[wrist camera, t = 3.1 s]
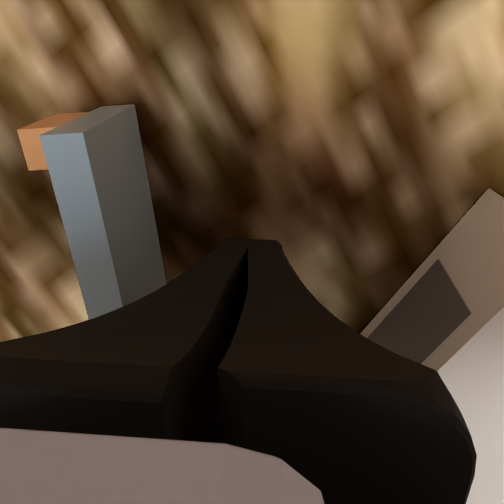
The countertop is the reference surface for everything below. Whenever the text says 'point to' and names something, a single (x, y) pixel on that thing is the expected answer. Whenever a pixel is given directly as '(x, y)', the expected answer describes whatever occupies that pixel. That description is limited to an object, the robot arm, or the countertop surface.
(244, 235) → the countertop surface
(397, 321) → the white box with knob
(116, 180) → the side door
